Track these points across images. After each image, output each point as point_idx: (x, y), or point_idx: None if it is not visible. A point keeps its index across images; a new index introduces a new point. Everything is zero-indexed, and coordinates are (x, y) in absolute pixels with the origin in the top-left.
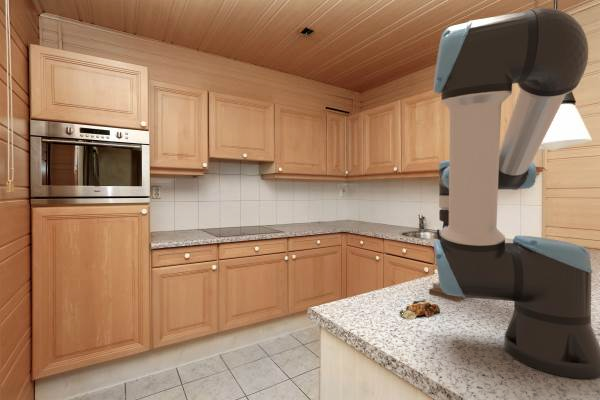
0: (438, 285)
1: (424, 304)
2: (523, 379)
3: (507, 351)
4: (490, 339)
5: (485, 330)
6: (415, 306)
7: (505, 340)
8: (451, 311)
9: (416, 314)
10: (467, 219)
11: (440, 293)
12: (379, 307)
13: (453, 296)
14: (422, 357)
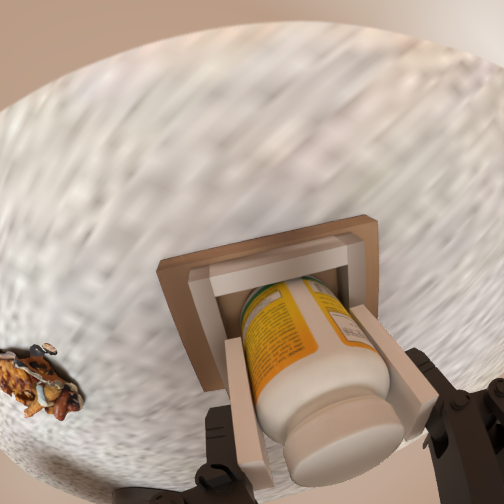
0: (199, 314)
1: (25, 416)
2: (94, 498)
3: (114, 491)
4: (117, 477)
5: (132, 469)
6: (14, 380)
7: (115, 500)
8: (121, 412)
9: (13, 393)
10: None
11: (178, 329)
12: None
13: (200, 379)
14: (6, 445)
